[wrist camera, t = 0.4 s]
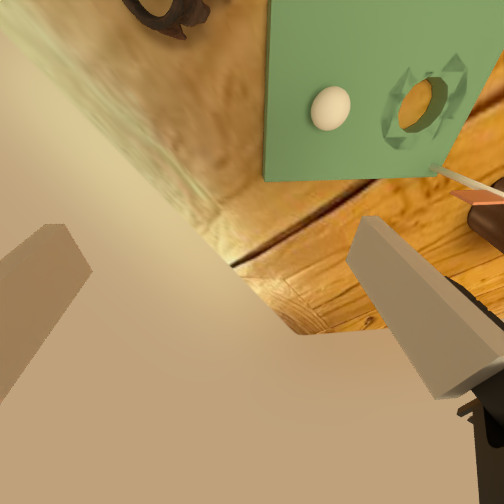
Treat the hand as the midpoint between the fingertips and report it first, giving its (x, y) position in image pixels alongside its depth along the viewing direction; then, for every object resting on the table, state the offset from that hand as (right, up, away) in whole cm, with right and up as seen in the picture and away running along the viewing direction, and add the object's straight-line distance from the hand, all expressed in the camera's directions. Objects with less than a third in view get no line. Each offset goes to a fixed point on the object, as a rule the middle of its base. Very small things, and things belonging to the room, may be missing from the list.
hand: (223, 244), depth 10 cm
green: (+15, +18, +17) cm, 29 cm away
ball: (+10, +15, +13) cm, 22 cm away
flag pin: (+24, +13, +22) cm, 35 cm away
